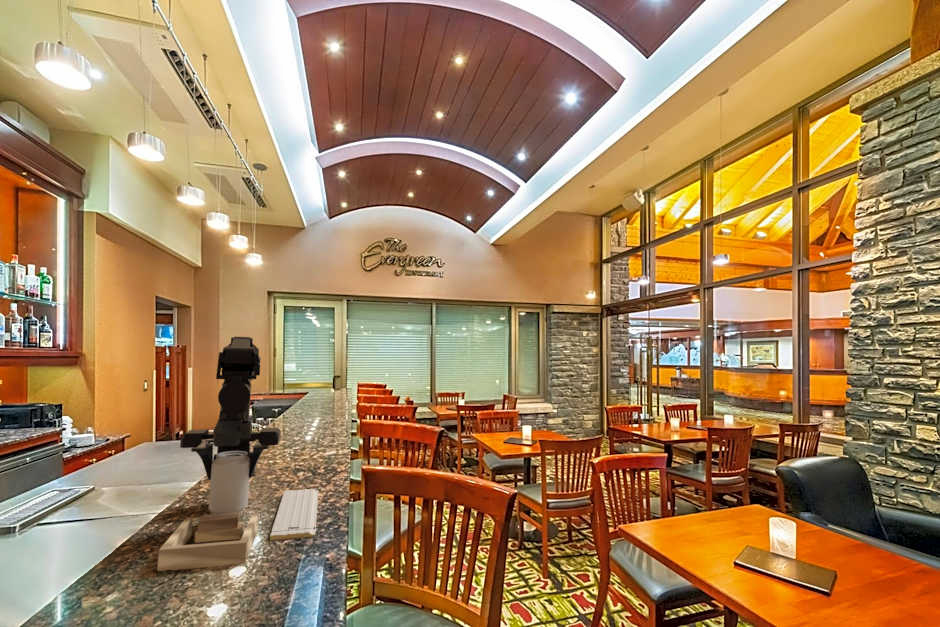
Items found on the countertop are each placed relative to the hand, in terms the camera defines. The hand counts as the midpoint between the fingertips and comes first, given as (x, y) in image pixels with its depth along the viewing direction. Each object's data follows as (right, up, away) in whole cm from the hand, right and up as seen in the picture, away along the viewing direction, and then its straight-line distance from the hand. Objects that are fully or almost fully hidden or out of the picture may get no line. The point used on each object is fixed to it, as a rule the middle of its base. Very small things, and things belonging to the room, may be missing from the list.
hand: (230, 478), depth 99 cm
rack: (+3, -9, -12) cm, 15 cm away
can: (0, -7, -1) cm, 7 cm away
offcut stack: (+2, -9, -8) cm, 12 cm away
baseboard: (+12, -11, +7) cm, 18 cm away
